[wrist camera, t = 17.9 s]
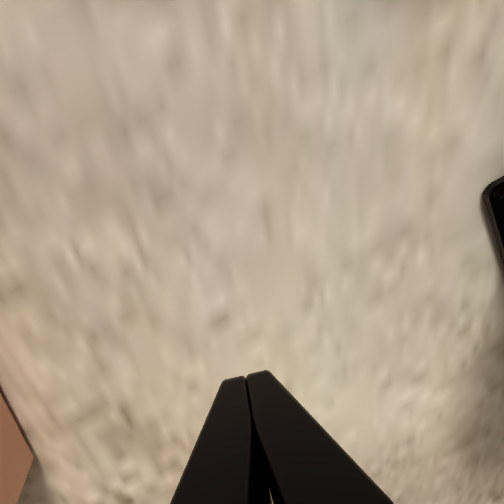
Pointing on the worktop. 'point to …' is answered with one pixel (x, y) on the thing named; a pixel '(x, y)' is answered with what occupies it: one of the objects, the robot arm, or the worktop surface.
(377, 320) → the worktop surface
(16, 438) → the tray
